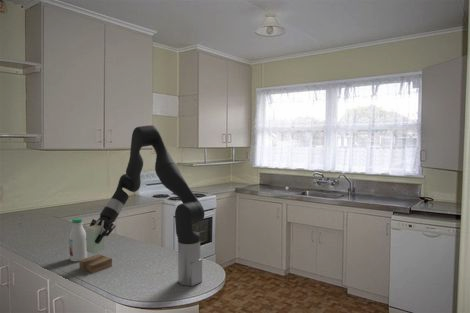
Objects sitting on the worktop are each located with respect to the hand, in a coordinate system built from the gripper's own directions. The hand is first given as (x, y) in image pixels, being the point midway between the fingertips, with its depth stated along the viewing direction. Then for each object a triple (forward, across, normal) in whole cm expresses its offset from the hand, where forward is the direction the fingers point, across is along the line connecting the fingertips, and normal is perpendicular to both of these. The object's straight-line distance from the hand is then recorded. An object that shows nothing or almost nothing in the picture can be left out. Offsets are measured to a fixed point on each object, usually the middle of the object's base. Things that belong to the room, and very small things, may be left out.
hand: (91, 241), depth 159 cm
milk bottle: (+6, -16, +12) cm, 21 cm away
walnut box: (+8, 0, +10) cm, 13 cm away
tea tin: (+2, 0, +5) cm, 5 cm away
